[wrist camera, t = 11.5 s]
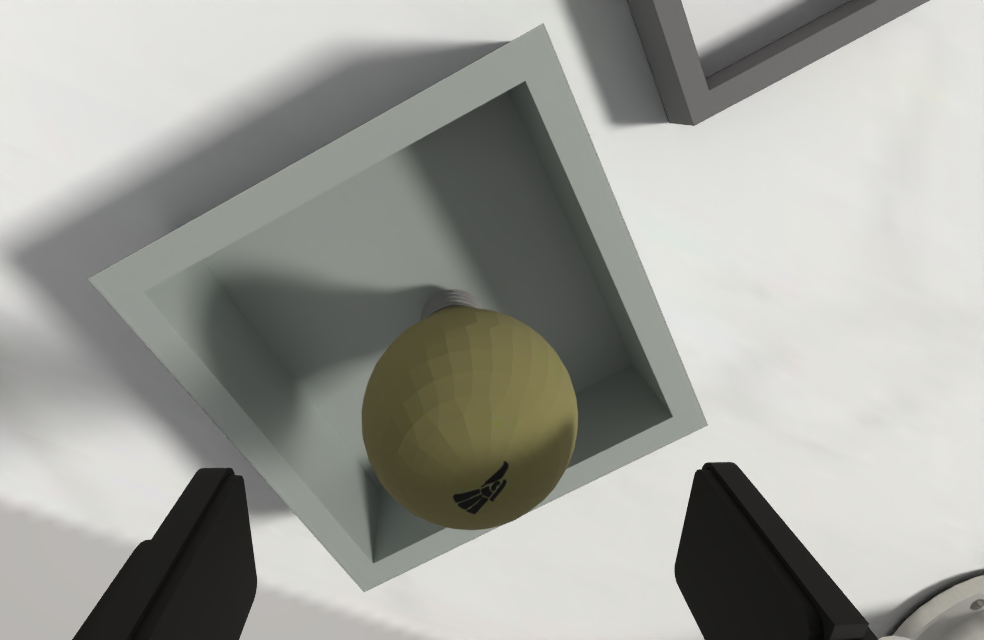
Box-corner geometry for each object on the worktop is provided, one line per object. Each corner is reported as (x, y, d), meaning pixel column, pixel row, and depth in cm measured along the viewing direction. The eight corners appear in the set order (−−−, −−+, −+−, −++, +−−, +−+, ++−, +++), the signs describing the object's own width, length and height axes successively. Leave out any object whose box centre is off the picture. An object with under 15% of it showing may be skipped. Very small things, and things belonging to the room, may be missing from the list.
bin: (653, 361, 24) (707, 425, 19) (374, 501, 25) (363, 592, 20) (513, 40, 19) (543, 22, 14) (165, 235, 20) (87, 278, 15)
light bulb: (490, 394, 23) (542, 603, 13) (358, 353, 21) (315, 556, 12) (548, 273, 21) (654, 419, 12) (408, 219, 19) (404, 336, 10)
